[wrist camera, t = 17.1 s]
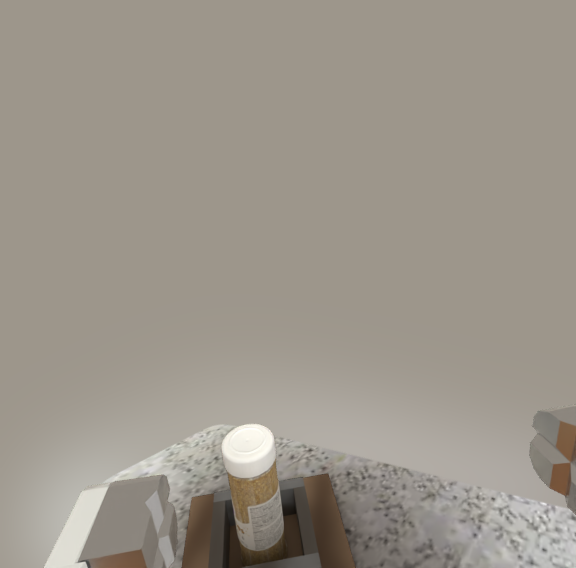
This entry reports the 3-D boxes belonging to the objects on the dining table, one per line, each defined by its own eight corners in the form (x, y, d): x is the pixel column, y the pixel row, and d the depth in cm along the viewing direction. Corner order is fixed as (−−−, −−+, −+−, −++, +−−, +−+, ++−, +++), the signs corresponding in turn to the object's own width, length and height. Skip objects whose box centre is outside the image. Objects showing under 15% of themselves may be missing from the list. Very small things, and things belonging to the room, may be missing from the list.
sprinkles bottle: (236, 542, 37) (216, 431, 33) (279, 524, 38) (265, 415, 34) (248, 589, 32) (226, 467, 28) (296, 566, 34) (281, 448, 30)
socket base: (328, 481, 44) (326, 449, 43) (375, 644, 29) (373, 603, 28) (193, 505, 43) (186, 473, 41) (168, 690, 27) (155, 649, 26)
